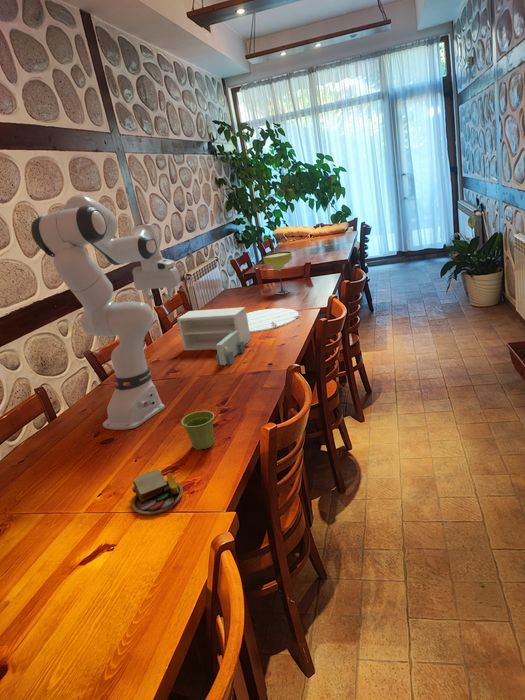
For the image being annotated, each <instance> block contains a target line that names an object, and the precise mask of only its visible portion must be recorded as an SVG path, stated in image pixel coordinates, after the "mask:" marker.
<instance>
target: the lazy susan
mask: <svg viewBox="0 0 525 700" xmlns="http://www.w3.org/2000/svg"><path fill="white" fill-rule="evenodd" d="M246 314H247V320H248V326H249V331H250V333H259V331H260V332H265V330H266V331H271V330H275V329H278V328H277V327H279V328H281V327H280V326H282V327H284V326H283V325H285V324H287V325H289V324H288V323H290V322H292V321H293V322H295V321H296V320H297V319H298V318H301V315H299V312H298V311H297V310H295V309H292V308H281V307H280V308H267V309H258V310H255V311H251V312H246ZM296 318H297V319H296ZM295 319H296V320H295ZM294 320H295V321H294ZM293 322H292V323H293ZM290 324H291V323H290ZM285 326H286V325H285ZM274 328H275V329H274ZM270 329H271V330H270Z"/></svg>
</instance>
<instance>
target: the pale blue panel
mask: <svg viewBox="0 0 525 700" xmlns="http://www.w3.org/2000/svg"><path fill="white" fill-rule="evenodd" d="M240 343H241V341H240V336H239V331H238V330H236V331H232V332H231V333H230V334H229V335H227V336H226V337H225V338H224V339H223V340H221V341H220V342H219V343H218V344H217V345H216V347H217V349H216V351H217V354H218V357H219V362H220V365H219V366H227V365H226V364H227V363H228V357H227V355H228V354H229V353H230V352H233V356H234V357H237V355H239V354H238V353H239V352H240V351H239V346H238V345H239V344H240Z"/></svg>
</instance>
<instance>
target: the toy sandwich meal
mask: <svg viewBox="0 0 525 700" xmlns="http://www.w3.org/2000/svg"><path fill="white" fill-rule="evenodd" d="M132 484H133V486H132V488H131V489H132V492H133V493H135V495H134V496H133V499H132V500H131V509H133V510H134V512H136V513H137V514H141V515H146V516H147V515H148V516H151V515H153V516H154V515H157V514H160V513H164V512H166V511H168V510H170V509H171V508H173V507H174V506H175V505H176V504H177V503H178V502H179V501H180V499H181V498H182V496H183V491H184V490H183V486H182V484H180V483H178V482H177V481H176V480H175V477H174V476H173V475H172V473H171V472H168V473H167V475H166V479H165V477H164V476H163V471H162V470H161V469H156V470H154V469H153V470H151V471H148V472H145V473H142V474H141V475H138V476H137V477H135V478H134V479H133V480H132ZM173 505H174V506H173ZM172 506H173V507H172ZM169 508H170V509H169Z"/></svg>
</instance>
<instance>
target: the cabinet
mask: <svg viewBox="0 0 525 700" xmlns="http://www.w3.org/2000/svg"><path fill="white" fill-rule="evenodd" d="M246 313H247V309H246V306H245V307H242V306H241V307H229V308H216V309H215V308H214V309H202V310H201V309H200V310H188V311H187V312H186V313H184V314H182V315H181V316H178V317H177V318H176V319H177V324H178V328H179V332H180V333H179V334H180V337H181V341H182V346H183V351H204V350H205V351H207V350H210V349H211V350H212V349H213V350H217V347H216V345H217V344H218V343H219V342H220V341H221V340H223V339H224V338H225V337H226V336H227V335H229V334H230V333H231V332H232V331H236V330H238V331H239V336H240V341H241V342H244V345H245V344H246V343H247V344H248V343H249V342H251V340H252V337H251V332H250V331H249V326H248V320H247V314H246ZM247 344H246V345H247ZM246 345H245V346H246ZM213 350H212V351H213Z"/></svg>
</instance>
